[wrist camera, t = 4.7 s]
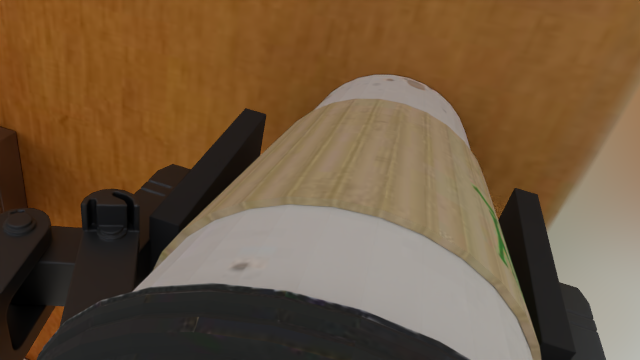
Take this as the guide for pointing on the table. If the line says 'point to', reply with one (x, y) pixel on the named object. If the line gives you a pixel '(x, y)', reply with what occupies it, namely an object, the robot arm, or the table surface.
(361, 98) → the coffee cup
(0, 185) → the window frame
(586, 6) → the table surface
